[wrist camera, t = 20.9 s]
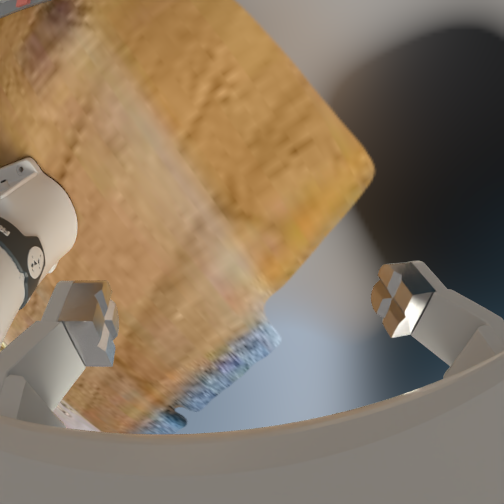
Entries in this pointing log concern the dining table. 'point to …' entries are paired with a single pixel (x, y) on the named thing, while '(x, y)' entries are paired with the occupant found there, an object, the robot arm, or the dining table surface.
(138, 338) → the dining table surface
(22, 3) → the socket plate
